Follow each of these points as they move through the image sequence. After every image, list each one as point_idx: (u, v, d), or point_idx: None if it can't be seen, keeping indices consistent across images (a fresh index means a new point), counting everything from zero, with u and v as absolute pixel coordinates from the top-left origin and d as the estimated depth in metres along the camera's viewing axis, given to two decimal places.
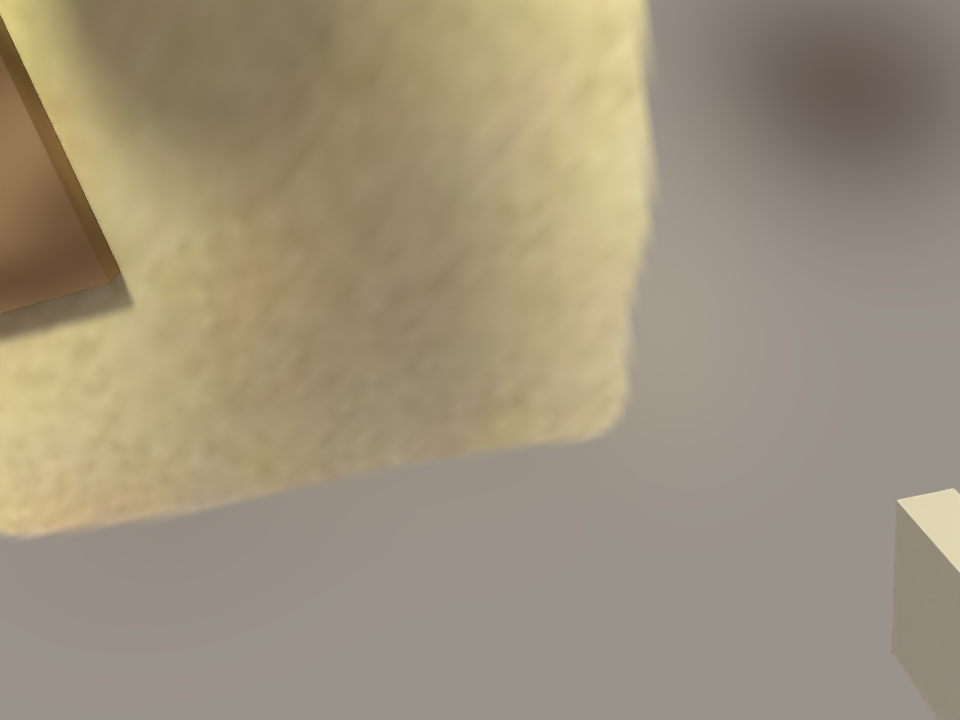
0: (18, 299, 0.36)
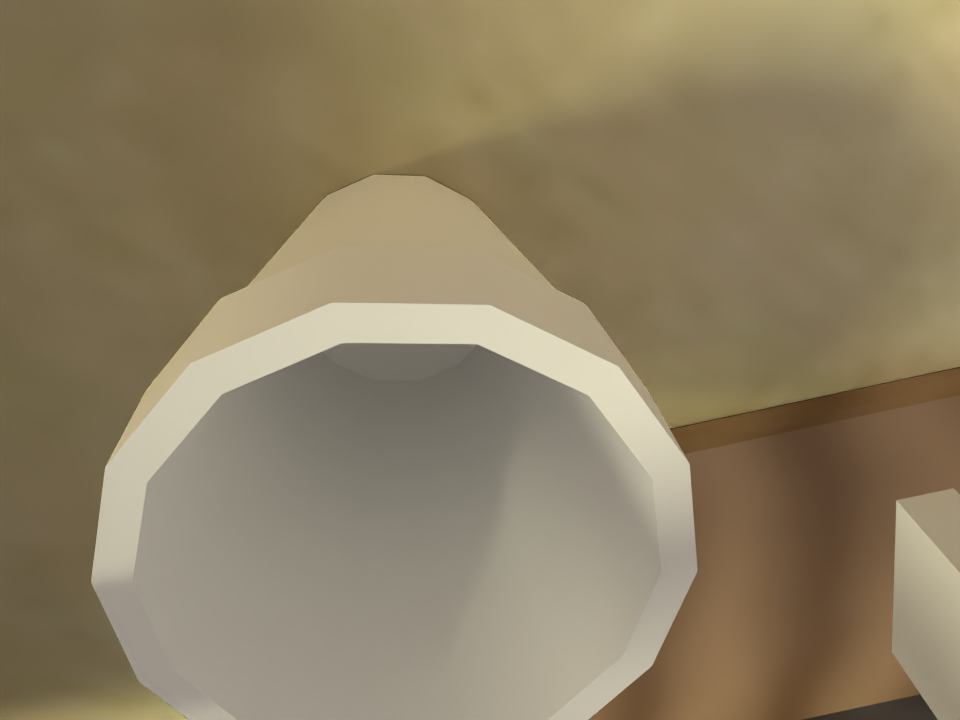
0: None
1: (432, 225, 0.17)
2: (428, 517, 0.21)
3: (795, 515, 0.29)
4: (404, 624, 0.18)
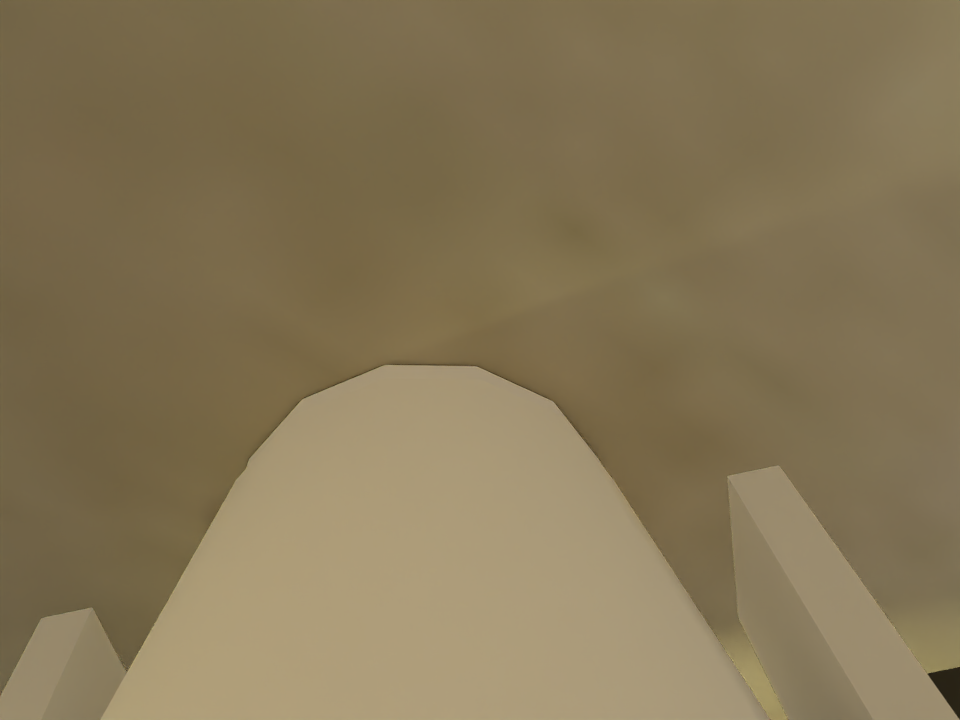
0: None
1: (541, 716, 0.06)
2: None
3: None
4: None
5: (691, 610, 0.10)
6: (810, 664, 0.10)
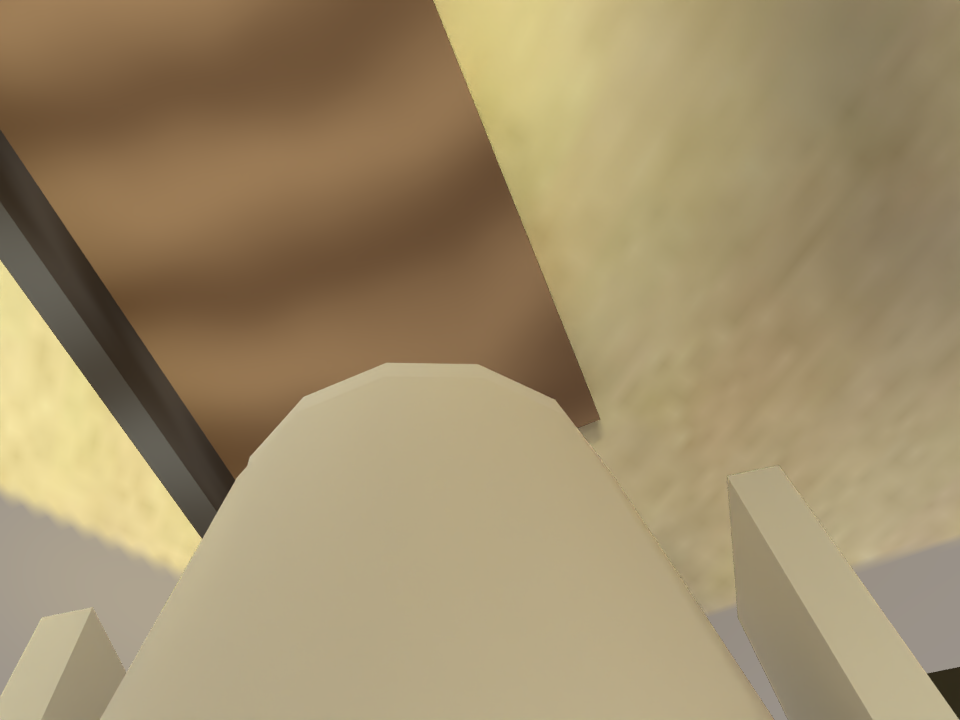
0: None
1: (545, 714, 0.06)
2: None
3: (400, 206, 0.27)
4: None
5: (694, 609, 0.10)
6: (810, 665, 0.10)
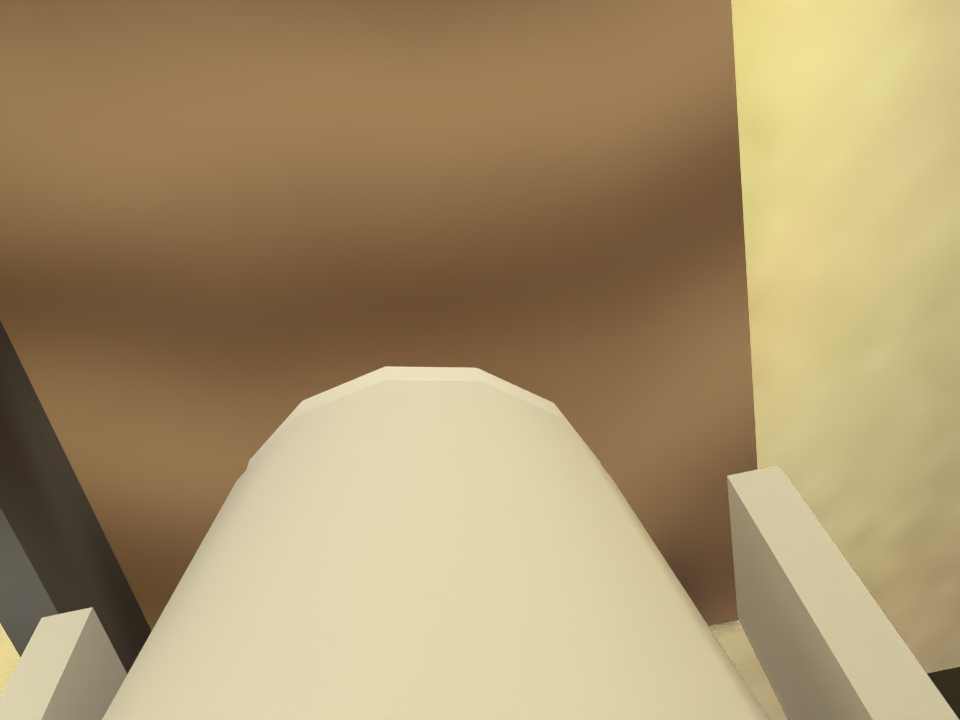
0: None
1: None
2: None
3: (551, 216, 0.15)
4: None
5: (692, 613, 0.10)
6: (810, 664, 0.10)
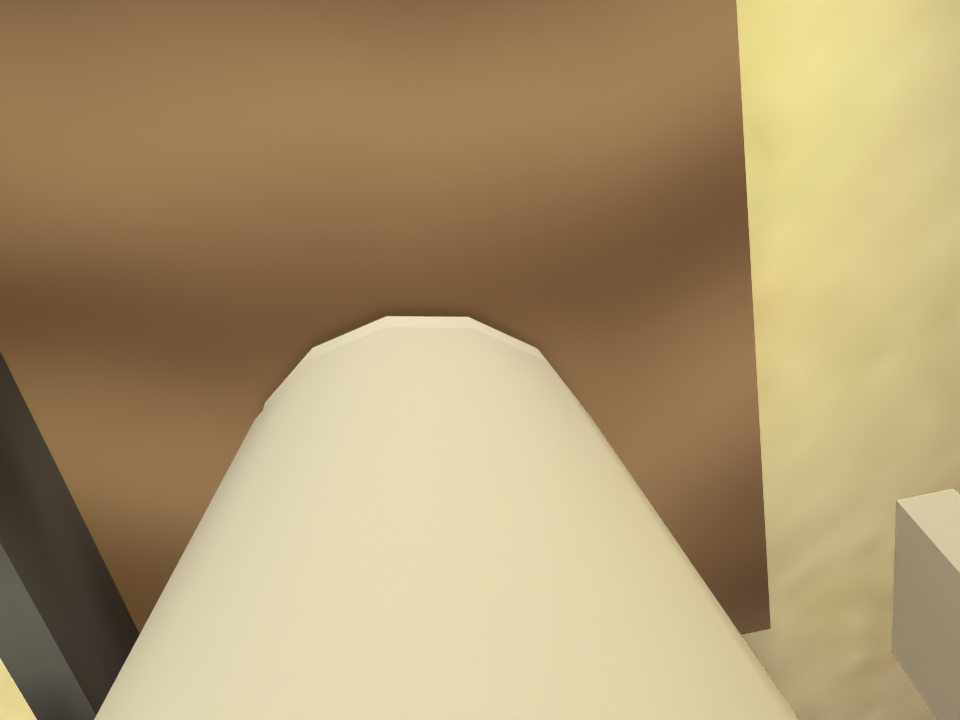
0: None
1: (523, 571, 0.08)
2: None
3: (553, 226, 0.15)
4: None
5: (653, 515, 0.12)
6: None
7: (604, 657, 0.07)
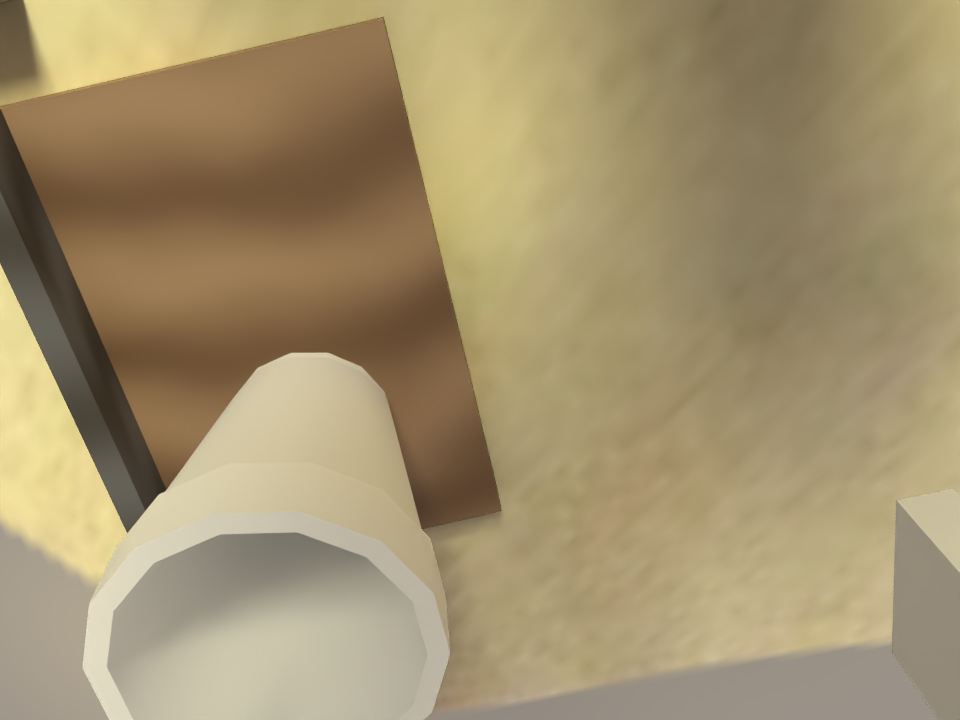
0: None
1: (302, 426, 0.26)
2: (321, 605, 0.30)
3: (363, 313, 0.33)
4: (293, 683, 0.27)
5: (381, 427, 0.30)
6: None
7: (315, 442, 0.25)
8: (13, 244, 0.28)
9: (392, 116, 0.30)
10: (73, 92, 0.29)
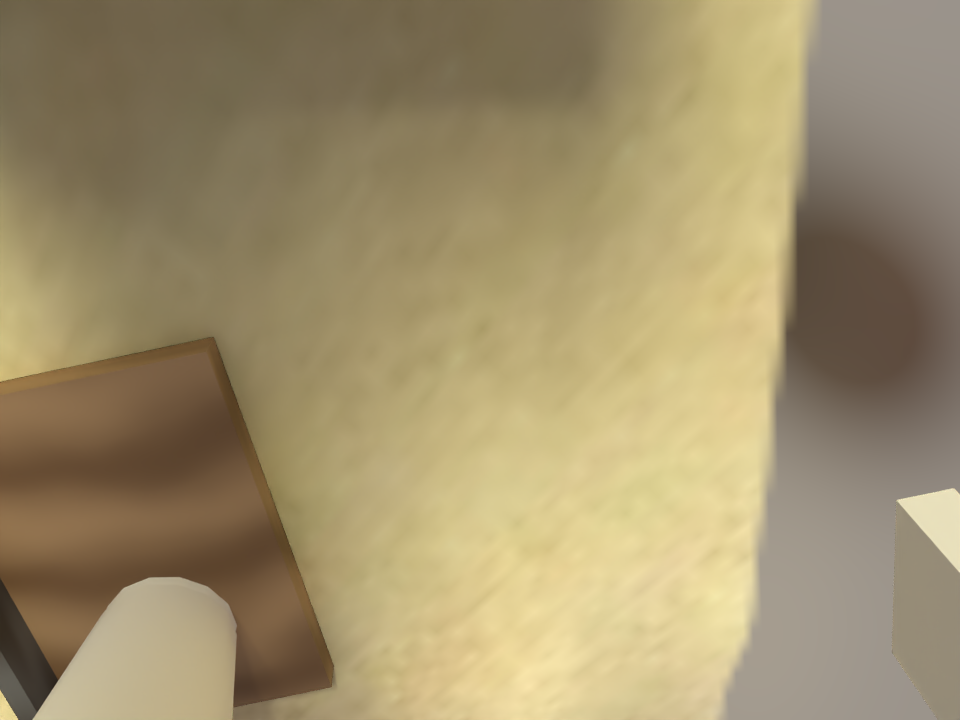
0: (259, 696, 0.46)
1: (129, 685, 0.35)
2: None
3: (206, 549, 0.41)
4: None
5: (205, 660, 0.38)
6: None
7: (133, 706, 0.34)
8: None
9: (218, 415, 0.38)
10: None
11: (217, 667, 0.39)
